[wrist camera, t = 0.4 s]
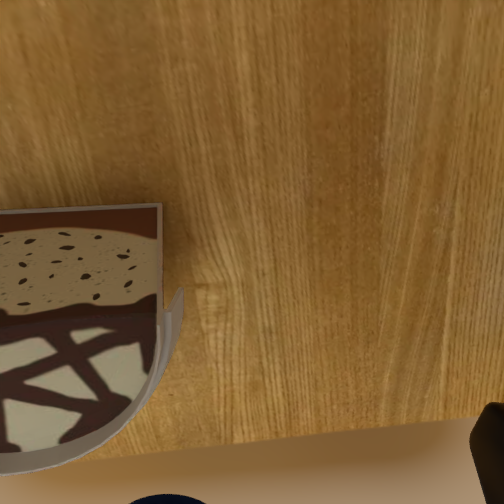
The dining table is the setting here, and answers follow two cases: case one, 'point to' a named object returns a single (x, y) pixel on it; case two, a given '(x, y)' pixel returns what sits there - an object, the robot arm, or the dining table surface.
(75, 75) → the dining table surface
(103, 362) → the food container
